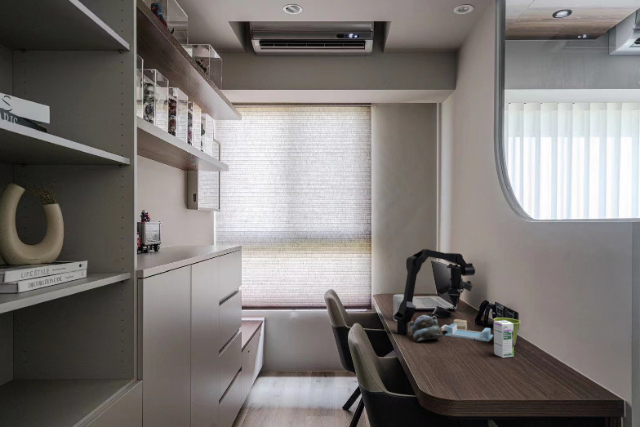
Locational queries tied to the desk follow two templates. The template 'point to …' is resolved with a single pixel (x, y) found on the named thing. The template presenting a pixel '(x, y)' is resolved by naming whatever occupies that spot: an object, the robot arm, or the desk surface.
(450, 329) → the sliding jaw
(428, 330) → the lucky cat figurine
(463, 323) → the beech block
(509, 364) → the desk surface
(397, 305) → the supplement tub
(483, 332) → the vise base
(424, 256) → the robot arm
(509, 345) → the syrup box
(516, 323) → the plant pot
